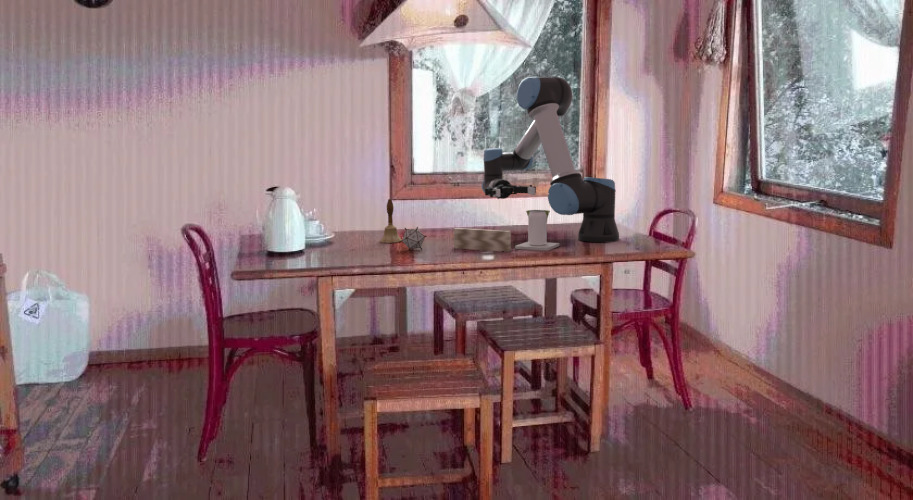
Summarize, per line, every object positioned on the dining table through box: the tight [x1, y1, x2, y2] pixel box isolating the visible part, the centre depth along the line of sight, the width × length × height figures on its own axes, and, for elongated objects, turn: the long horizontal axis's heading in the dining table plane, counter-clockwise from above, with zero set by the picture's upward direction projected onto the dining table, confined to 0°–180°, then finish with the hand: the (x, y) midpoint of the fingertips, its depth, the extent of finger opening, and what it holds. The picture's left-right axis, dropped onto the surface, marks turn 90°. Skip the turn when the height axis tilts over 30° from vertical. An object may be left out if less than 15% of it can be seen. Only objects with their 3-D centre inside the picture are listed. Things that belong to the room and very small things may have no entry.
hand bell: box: [379, 198, 403, 244], centre depth 320 cm, size 8×8×16 cm
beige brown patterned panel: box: [453, 227, 512, 253], centre depth 299 cm, size 21×2×7 cm, turn 63°
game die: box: [398, 226, 428, 252], centre depth 300 cm, size 9×8×10 cm
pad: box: [514, 241, 560, 252], centre depth 303 cm, size 12×12×1 cm
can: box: [527, 209, 548, 246], centre depth 302 cm, size 6×6×12 cm
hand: (516, 192), depth 317 cm, fingers open, 13 cm apart
